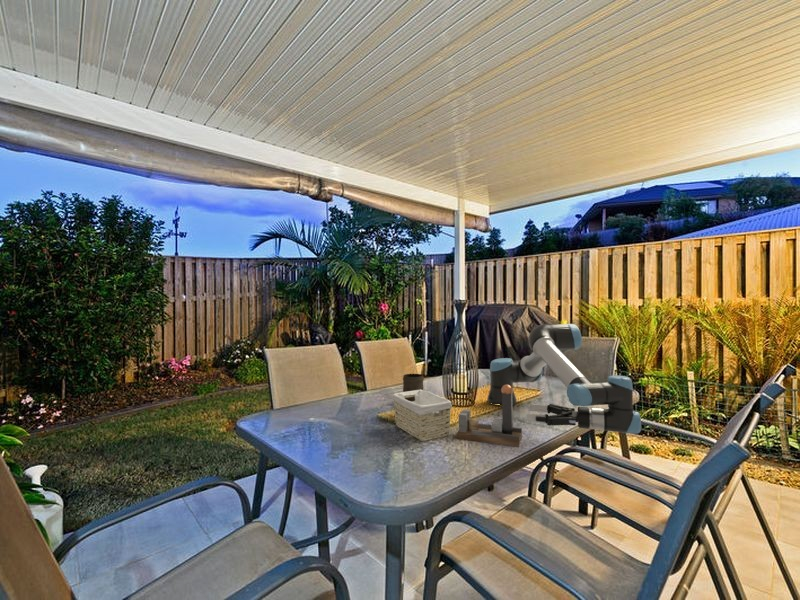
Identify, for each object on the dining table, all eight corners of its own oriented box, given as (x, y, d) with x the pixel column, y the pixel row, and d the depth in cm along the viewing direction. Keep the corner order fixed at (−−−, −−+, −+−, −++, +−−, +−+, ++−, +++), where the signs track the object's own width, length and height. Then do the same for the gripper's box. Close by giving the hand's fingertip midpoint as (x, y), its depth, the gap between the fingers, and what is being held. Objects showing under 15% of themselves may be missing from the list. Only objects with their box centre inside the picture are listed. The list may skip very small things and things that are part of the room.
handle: (494, 429, 152) (493, 381, 152) (514, 431, 149) (513, 383, 149) (491, 434, 146) (490, 385, 146) (512, 437, 143) (511, 386, 143)
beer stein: (421, 420, 172) (421, 376, 173) (399, 418, 175) (399, 375, 177) (429, 413, 186) (429, 372, 188) (409, 411, 190) (409, 371, 191)
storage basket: (454, 436, 151) (453, 400, 151) (420, 444, 143) (419, 406, 143) (422, 420, 172) (422, 388, 172) (391, 426, 164) (391, 393, 164)
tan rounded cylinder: (469, 428, 155) (469, 418, 155) (479, 429, 153) (479, 419, 153) (467, 431, 151) (467, 421, 151) (477, 432, 149) (477, 422, 149)
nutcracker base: (463, 428, 160) (463, 407, 160) (522, 436, 150) (521, 413, 150) (456, 438, 149) (456, 415, 149) (518, 446, 139) (518, 422, 139)
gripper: (592, 440, 123) (525, 431, 132) (588, 418, 146) (531, 412, 155) (591, 417, 123) (524, 410, 132) (587, 399, 146) (530, 394, 155)
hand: (528, 411), depth 143 cm, fingers open, 13 cm apart
